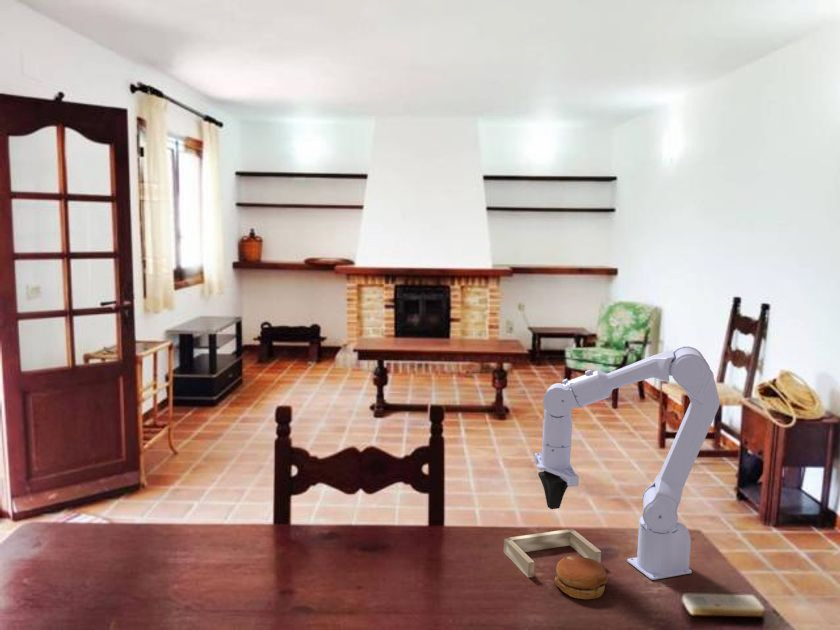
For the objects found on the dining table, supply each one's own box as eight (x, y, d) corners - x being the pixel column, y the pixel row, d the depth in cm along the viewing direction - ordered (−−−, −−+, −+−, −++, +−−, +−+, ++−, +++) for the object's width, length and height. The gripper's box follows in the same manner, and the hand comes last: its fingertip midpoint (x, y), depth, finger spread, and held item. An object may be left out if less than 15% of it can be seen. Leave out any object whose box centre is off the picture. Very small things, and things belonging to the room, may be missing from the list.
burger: (589, 607, 119) (590, 582, 118) (544, 587, 125) (545, 563, 125) (616, 587, 126) (617, 563, 125) (572, 569, 132) (574, 546, 132)
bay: (571, 542, 143) (572, 528, 143) (600, 565, 133) (601, 551, 133) (503, 552, 138) (504, 538, 138) (527, 577, 128) (528, 562, 128)
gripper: (522, 434, 141) (519, 496, 143) (557, 456, 128) (553, 524, 129) (552, 431, 144) (549, 492, 145) (589, 453, 130) (585, 520, 132)
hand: (553, 507), depth 138 cm, fingers closed
